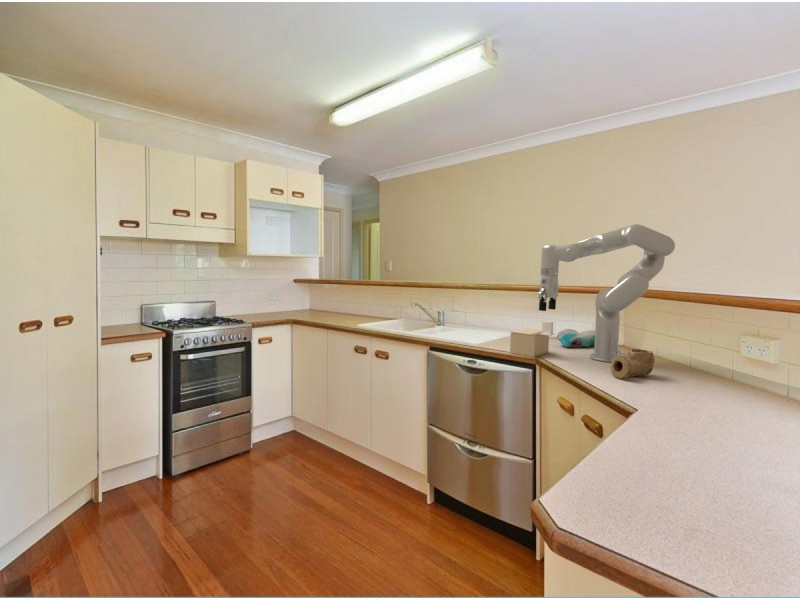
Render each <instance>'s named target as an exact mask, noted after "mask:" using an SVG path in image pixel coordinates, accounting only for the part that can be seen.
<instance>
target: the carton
mask: <svg viewBox="0 0 800 600" xmlns="http://www.w3.org/2000/svg"><path fill="white" fill-rule="evenodd" d="M549 343H550V336H547V335H536V336H532V335H524V334H517V333H511V332H510V346H509V354H510V353H513V354H512V355H516V354H518V355H517V356H521V355H522V357H528V358H537V357H539V356H543V355H545V354H546V355H547V354H549V348H550V347H549Z"/></svg>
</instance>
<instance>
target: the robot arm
mask: <svg viewBox="0 0 800 600" xmlns="http://www.w3.org/2000/svg"><path fill="white" fill-rule="evenodd" d="M631 246H636V247H639V248H641V249H642V250H643V258H642V259H641V260H640V262H638V263H637V264H636V265H635V266H634V267H632V268H631V269H629V270H628V271H627V272H625V273H624V274H623V275H621V276H620V277H619V278H618V280H617V283H616V284H617V285H616V286H614V287H613V288H604V289H602V290H600V291H599V292H598V293H597V294H596V296H595V301H594V302H595V305H594V306H595V328H594V330H595V344H594V345H593V346H594V347H593V353H592V354H590V356H589V358H590V359H591V360H593V361H599V362H605V363H611V362H612V360H613V358H614V357H616V356H623V357H625V358H626V359H629V355H628V353H624V352H623V353H622V352H621V350H620V349H619V337H620V324H621V323H620V319H621V318H620V316H621V315H620V312H622V311H623V310H625V309H626V308H628V307H629V306H630V305H632V304H633V303H634V302H636V301H637V300H638V299H640V298H641V297H642V296H643V295H645V293H646V292H647V291H648V290H649V287H650V282H651V280H653V279H654V278H655V277H656V276H657V275H658V274H659V273H660V272H661V271H662V270H663V268H664V265H665V260H666V257H667V256H670V255H671V254H672V253H673V252H674V251H675V248H676V244H675V241H674V239H672V238H671V236H668V235H667V234H664V233H661V232H659V231H657V230H655V229H652V228H650V227H647V226H645V225H642V224H639V223H637V224H636V223H635V224H630V225H628V226H624V227H620V228H618V229H614V230H610V231H607V232H603V233H600V234H597V235H594V236H591V237H589V238H587V239H584V240H581V241H577V242H573V243H570V244H566V245H555V244H554V245H553V244H551V245H550V244H549V245H548V244H545V245H543V246H542V247H541V260H540V276H541V277H540V282H539V283H540V284H539V291H538V302H539V304H538V311H541V312H546V311H547V308H548V310H556V307H557V305H556V304H557V297H558V296H559V267H560V261H561V262H565V263H571V262H574V261H576V260H578V259H581V258H586V257H590V256H595V255H603V254H607V253H609V252H613V251H616V250H621V249H623V248H627V247H631ZM547 299H549V300H548V303H547ZM547 304H548V306H547Z"/></svg>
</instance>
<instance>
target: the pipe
mask: <svg viewBox="0 0 800 600" xmlns="http://www.w3.org/2000/svg"><path fill="white" fill-rule="evenodd" d="M627 354H628V359H626V358H625V357H623V356H616V357H614V358H613V360H612V362H610V368H609V369H610V373H611V374H612V375H613V376H614V377H615V378H617V379H624V378H627V377H631V376H634V377H635V376H636V377H639V378H640V377H641V378H642V377H646V376H648V375H650V374H651V373H652V372H653V369H654V363H655V356H654V353H653V351H648V350H646V349H640V348H629V349H628V353H627Z"/></svg>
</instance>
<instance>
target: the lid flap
mask: <svg viewBox="0 0 800 600" xmlns="http://www.w3.org/2000/svg"><path fill="white" fill-rule="evenodd" d="M541 328H542V329H534V328H527V327H525V328H521V329H517V330H512V331H510V334H511V333H517V334H524V335H532V336H536V335H547V336H549V337H551V336H554V335H555V333H554V322H553V321H548V320H546V321H545V320H544V321H542V327H541Z"/></svg>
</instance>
